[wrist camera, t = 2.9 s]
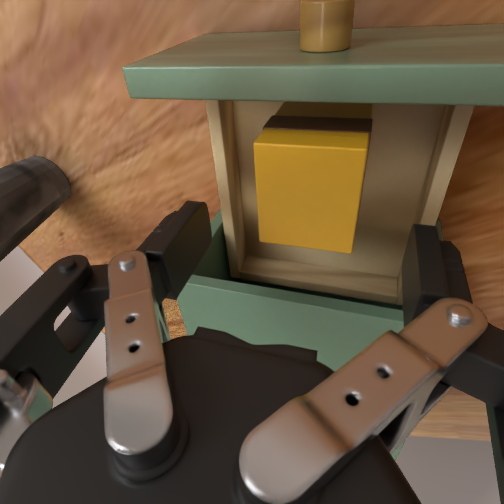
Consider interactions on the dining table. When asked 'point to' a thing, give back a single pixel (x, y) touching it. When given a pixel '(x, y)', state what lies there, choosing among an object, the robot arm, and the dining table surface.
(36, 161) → the beverage cup
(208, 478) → the robot arm
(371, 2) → the dining table surface
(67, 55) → the dining table surface
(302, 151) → the snack box
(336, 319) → the cabinet
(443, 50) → the drawer
